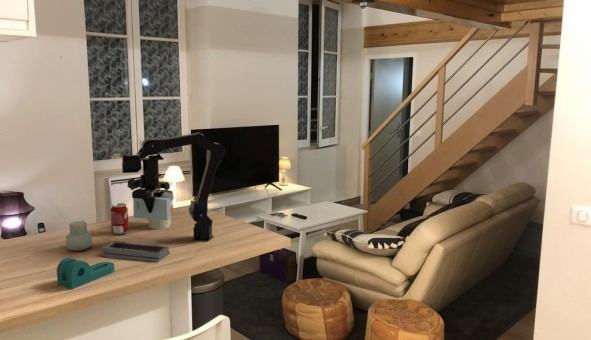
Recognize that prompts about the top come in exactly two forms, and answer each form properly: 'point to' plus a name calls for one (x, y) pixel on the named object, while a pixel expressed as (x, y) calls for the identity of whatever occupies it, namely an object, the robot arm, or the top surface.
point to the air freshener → (78, 236)
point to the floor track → (135, 251)
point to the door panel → (159, 209)
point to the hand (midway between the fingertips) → (152, 211)
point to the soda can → (119, 219)
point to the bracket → (81, 272)
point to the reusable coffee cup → (162, 223)
